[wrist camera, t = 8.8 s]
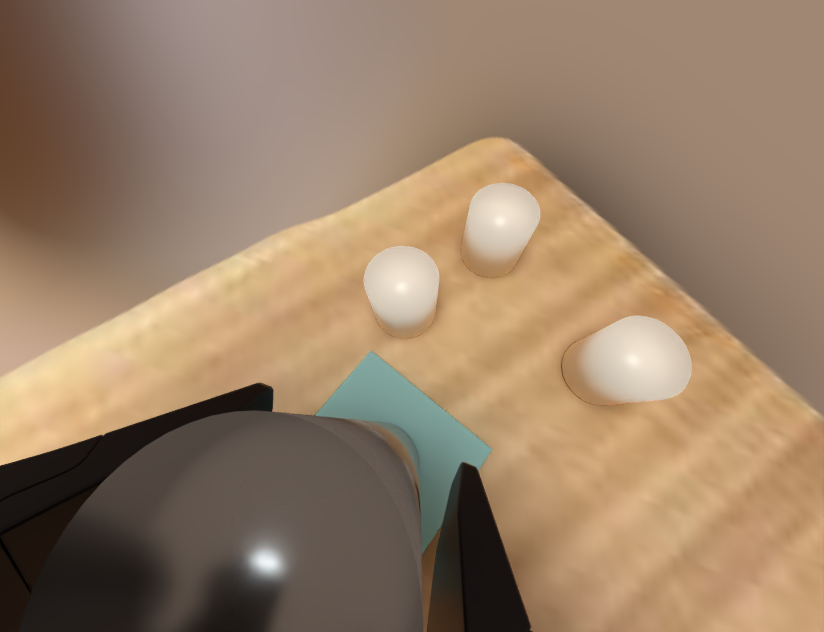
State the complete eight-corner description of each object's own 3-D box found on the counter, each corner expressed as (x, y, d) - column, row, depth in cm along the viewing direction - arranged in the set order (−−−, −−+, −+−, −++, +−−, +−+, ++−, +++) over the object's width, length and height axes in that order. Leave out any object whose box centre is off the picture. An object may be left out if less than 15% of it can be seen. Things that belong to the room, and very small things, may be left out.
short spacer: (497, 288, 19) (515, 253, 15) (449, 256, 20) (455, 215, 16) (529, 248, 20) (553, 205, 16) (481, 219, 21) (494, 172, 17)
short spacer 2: (628, 413, 16) (693, 410, 13) (558, 395, 17) (601, 387, 13) (630, 347, 18) (690, 326, 14) (565, 332, 18) (606, 307, 14)
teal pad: (387, 602, 14) (386, 607, 13) (266, 474, 16) (262, 475, 15) (490, 449, 16) (492, 449, 16) (372, 352, 18) (370, 350, 17)
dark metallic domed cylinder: (383, 532, 14) (184, 1138, 2) (320, 472, 15) (-75, 661, 3) (435, 457, 15) (503, 585, 3) (374, 405, 16) (237, 343, 4)
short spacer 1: (409, 350, 18) (406, 328, 14) (362, 314, 19) (348, 284, 15) (447, 304, 19) (454, 272, 15) (401, 271, 20) (396, 233, 16)
